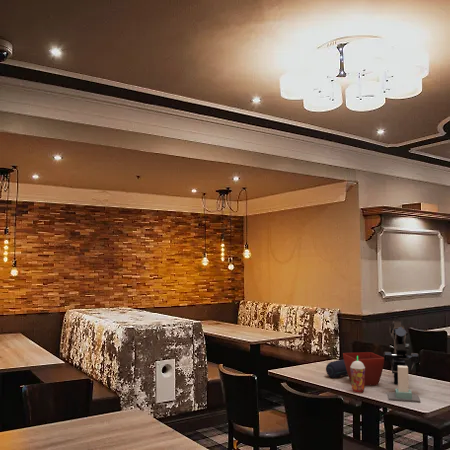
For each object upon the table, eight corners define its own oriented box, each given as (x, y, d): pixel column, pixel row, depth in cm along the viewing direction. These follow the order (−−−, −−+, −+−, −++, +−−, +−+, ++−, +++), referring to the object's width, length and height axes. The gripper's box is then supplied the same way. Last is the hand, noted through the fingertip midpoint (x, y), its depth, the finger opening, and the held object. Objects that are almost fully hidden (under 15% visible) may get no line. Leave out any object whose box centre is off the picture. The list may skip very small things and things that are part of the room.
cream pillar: (398, 391, 265) (398, 367, 266) (398, 389, 270) (397, 365, 271) (408, 392, 264) (407, 367, 265) (407, 390, 269) (407, 365, 270)
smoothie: (348, 389, 285) (347, 354, 286) (362, 389, 285) (361, 354, 287) (353, 393, 276) (352, 357, 278) (367, 393, 277) (367, 357, 279)
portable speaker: (346, 371, 331) (346, 356, 332) (359, 374, 324) (358, 358, 325) (323, 377, 315) (323, 361, 316) (336, 380, 307) (335, 364, 308)
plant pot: (355, 388, 288) (354, 358, 290) (342, 380, 307) (342, 352, 308) (385, 386, 291) (385, 358, 293) (371, 379, 310) (370, 352, 311)
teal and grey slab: (388, 400, 263) (388, 392, 263) (387, 393, 277) (387, 386, 277) (420, 402, 259) (420, 394, 259) (417, 395, 272) (417, 388, 272)
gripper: (383, 337, 284) (384, 361, 272) (418, 339, 278) (420, 362, 267) (383, 348, 291) (384, 372, 279) (417, 350, 286) (419, 374, 274)
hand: (402, 370), depth 275 cm, fingers open, 9 cm apart
